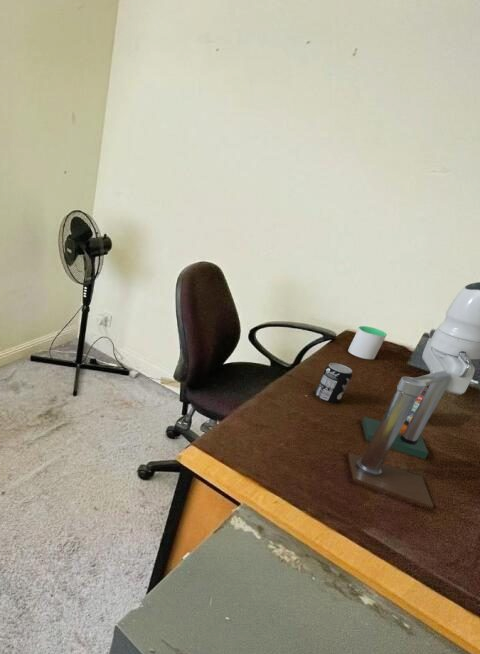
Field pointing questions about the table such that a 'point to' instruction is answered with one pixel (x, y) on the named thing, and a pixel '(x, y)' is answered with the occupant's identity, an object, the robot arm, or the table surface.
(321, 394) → the beverage can
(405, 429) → the button
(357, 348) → the mug
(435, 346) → the robot arm
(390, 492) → the slanted pole stand
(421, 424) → the spout
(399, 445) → the button box
